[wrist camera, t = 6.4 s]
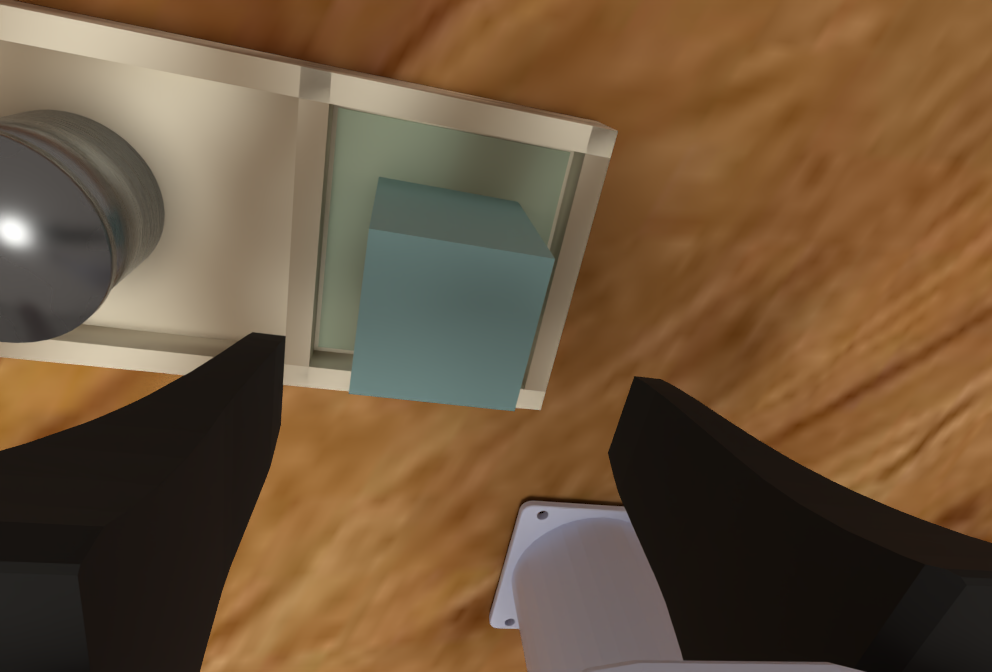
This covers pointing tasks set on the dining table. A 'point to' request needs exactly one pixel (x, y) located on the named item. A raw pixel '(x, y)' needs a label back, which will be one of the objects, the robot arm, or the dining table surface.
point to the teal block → (448, 297)
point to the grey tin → (68, 220)
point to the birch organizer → (283, 188)
